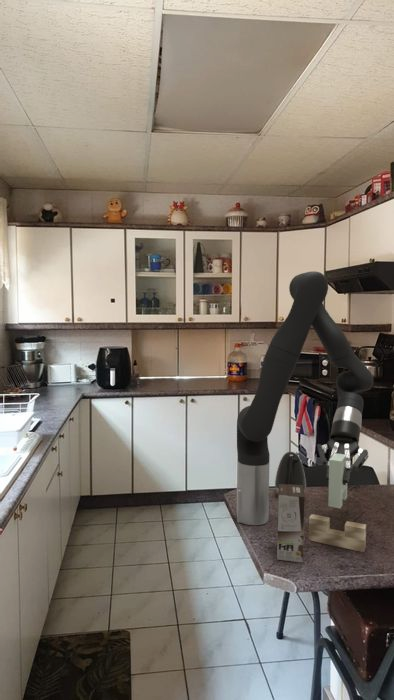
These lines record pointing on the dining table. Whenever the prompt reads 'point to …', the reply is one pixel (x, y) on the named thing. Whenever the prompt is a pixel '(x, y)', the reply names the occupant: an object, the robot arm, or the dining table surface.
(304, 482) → the dark grey rounded-top part
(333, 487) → the mint green upright block
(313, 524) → the birch slotted plate
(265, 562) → the dining table surface
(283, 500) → the coffee box
